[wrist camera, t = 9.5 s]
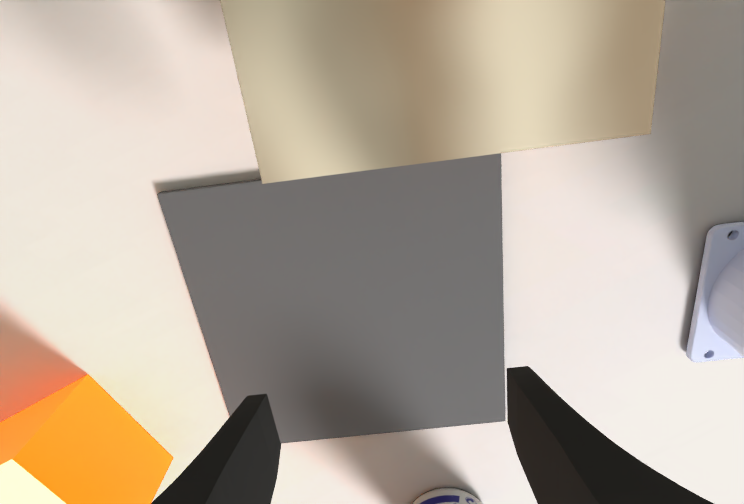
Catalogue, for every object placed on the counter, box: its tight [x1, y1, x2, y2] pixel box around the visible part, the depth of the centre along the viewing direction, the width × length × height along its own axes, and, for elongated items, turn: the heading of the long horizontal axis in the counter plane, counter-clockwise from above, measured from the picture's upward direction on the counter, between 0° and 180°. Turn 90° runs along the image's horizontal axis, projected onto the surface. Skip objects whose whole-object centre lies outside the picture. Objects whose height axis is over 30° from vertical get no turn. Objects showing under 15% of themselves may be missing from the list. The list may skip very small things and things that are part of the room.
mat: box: [157, 153, 505, 443], centre depth 24 cm, size 16×16×1 cm
